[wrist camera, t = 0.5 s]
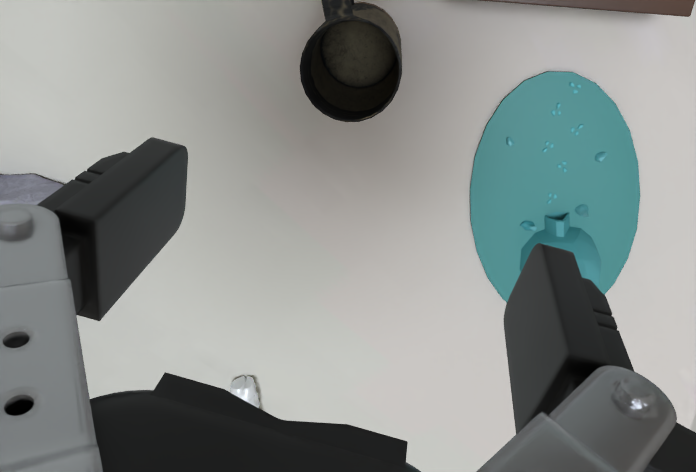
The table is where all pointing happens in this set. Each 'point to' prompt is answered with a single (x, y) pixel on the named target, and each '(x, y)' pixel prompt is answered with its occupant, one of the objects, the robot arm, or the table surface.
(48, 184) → the stone block
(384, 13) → the mug
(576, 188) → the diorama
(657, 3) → the walnut block
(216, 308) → the table surface
